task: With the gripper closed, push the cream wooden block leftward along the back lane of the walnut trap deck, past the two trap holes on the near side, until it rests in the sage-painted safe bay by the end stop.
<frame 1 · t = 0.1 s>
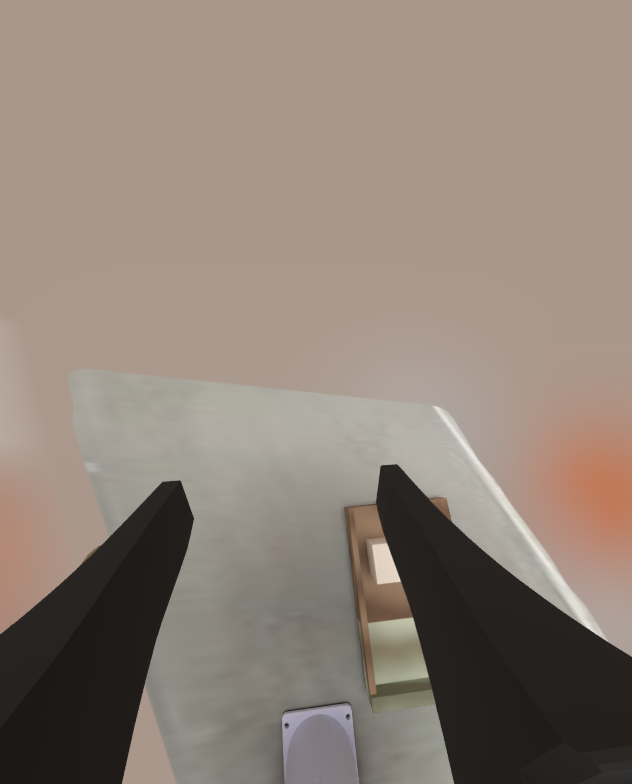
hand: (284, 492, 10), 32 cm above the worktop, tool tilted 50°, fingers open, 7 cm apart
cream block: (382, 554, 36), point 2 cm above the worktop, touching trap deck
trap deck: (406, 583, 37), on the worktop
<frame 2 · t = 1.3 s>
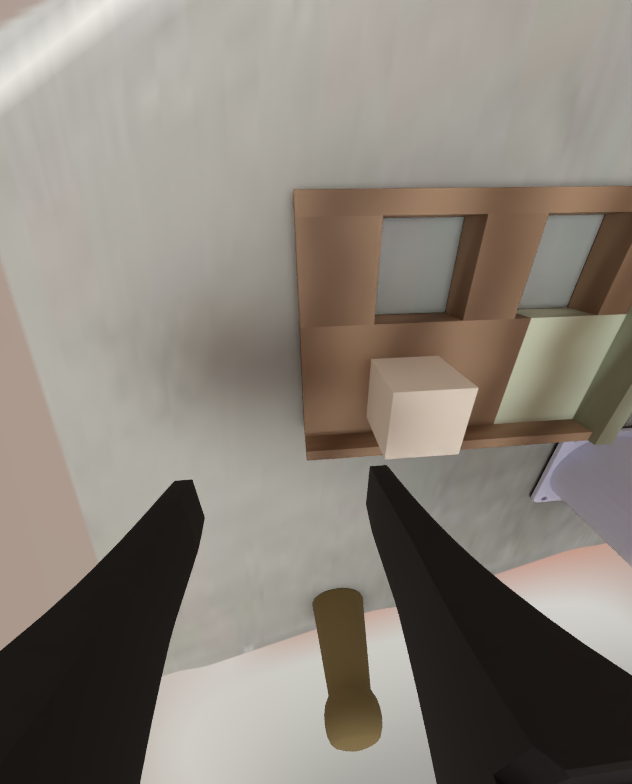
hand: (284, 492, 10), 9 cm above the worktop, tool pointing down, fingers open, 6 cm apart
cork: (337, 599, 34), on the worktop
cream block: (400, 387, 17), point 2 cm above the worktop, touching trap deck
trap deck: (457, 327, 18), on the worktop
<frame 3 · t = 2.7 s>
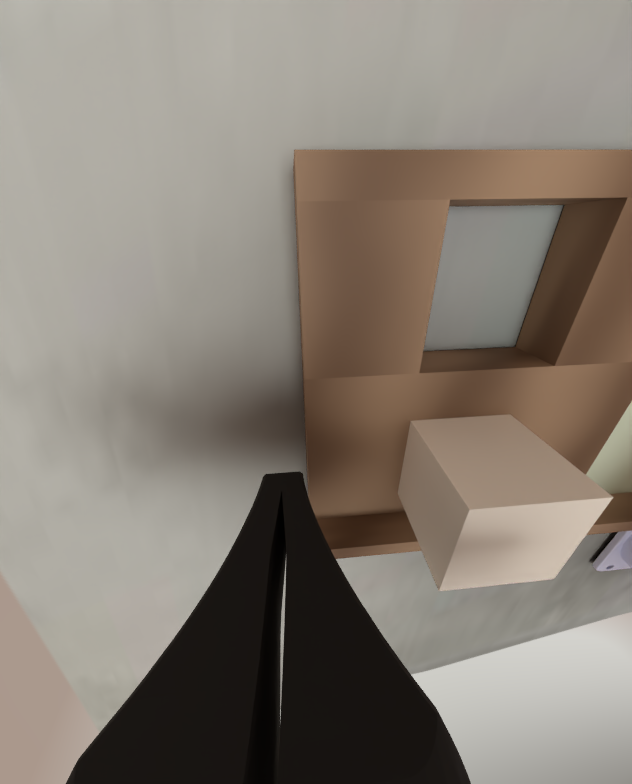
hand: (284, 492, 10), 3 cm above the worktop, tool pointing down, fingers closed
cream block: (449, 456, 12), point 2 cm above the worktop, touching trap deck
trap deck: (529, 367, 12), on the worktop
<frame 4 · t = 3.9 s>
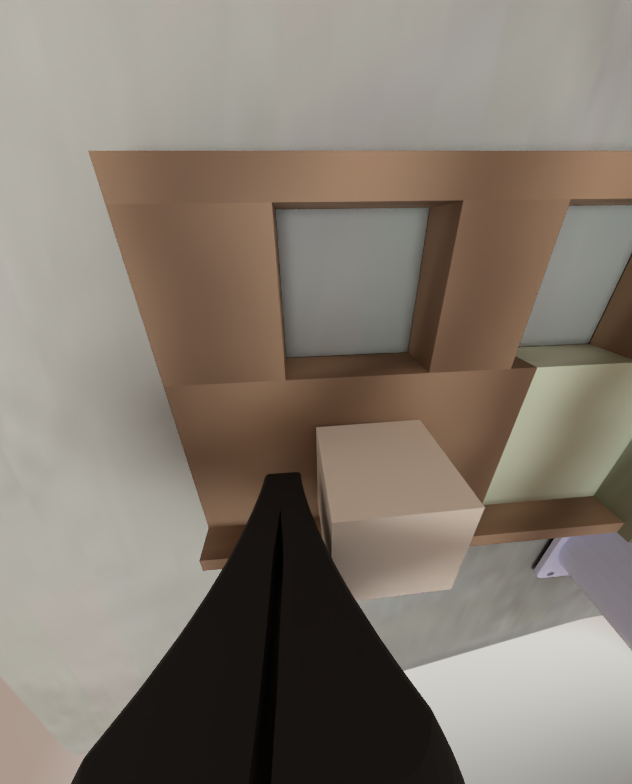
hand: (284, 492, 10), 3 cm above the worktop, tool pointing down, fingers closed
cream block: (365, 462, 12), point 2 cm above the worktop, touching gripper
trap deck: (427, 373, 12), on the worktop
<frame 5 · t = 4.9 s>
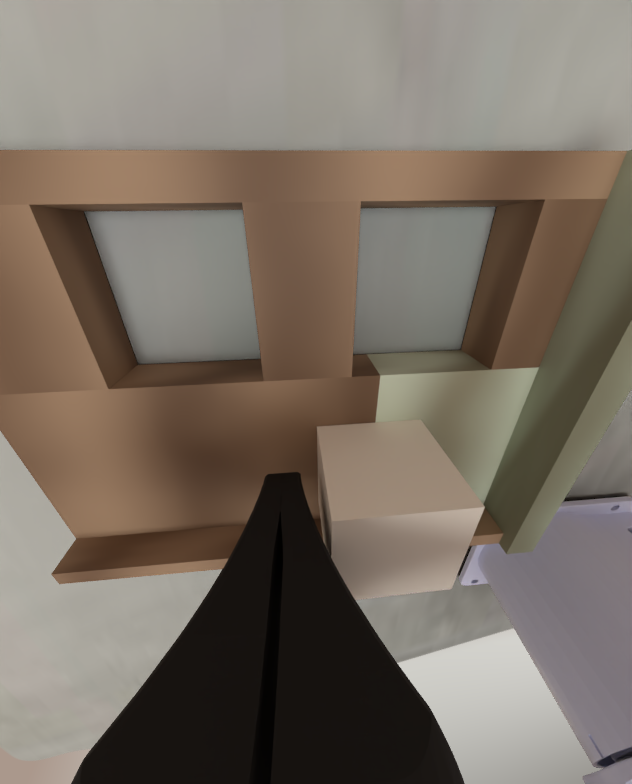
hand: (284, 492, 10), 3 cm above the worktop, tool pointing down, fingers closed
cream block: (365, 462, 12), point 2 cm above the worktop, touching gripper, trap deck
trap deck: (294, 379, 12), on the worktop
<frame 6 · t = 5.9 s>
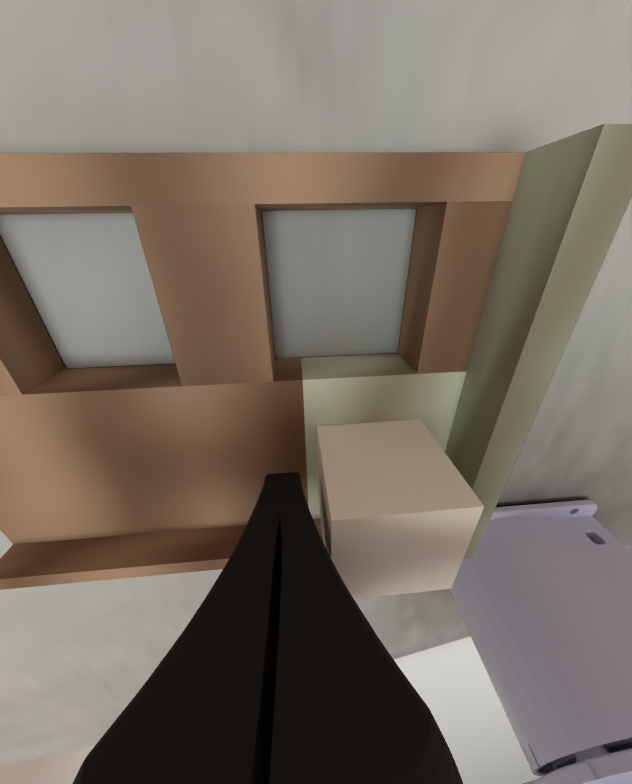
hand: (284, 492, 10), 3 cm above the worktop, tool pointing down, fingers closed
cream block: (365, 462, 12), point 2 cm above the worktop, touching gripper, trap deck
trap deck: (229, 383, 12), on the worktop
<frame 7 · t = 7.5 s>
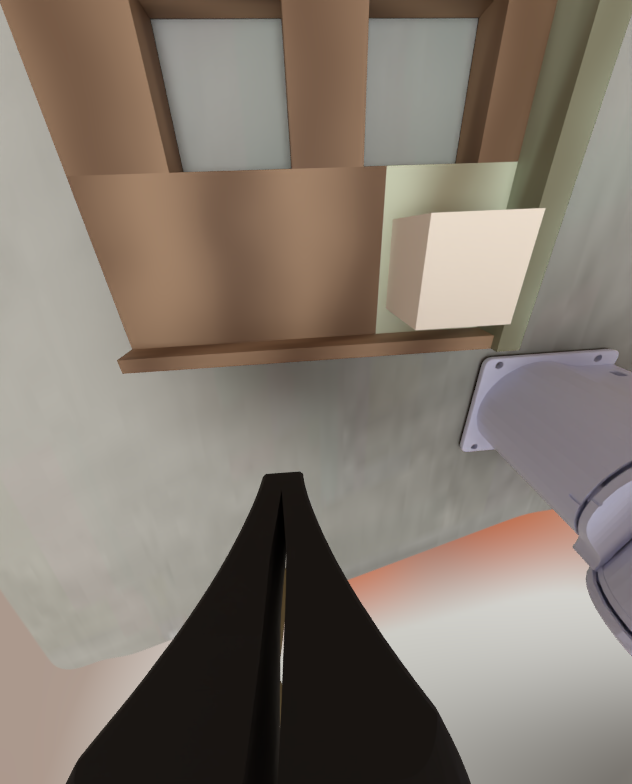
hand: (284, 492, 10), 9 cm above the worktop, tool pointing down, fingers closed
cream block: (428, 264, 14), point 2 cm above the worktop, touching trap deck
trap deck: (313, 202, 14), on the worktop
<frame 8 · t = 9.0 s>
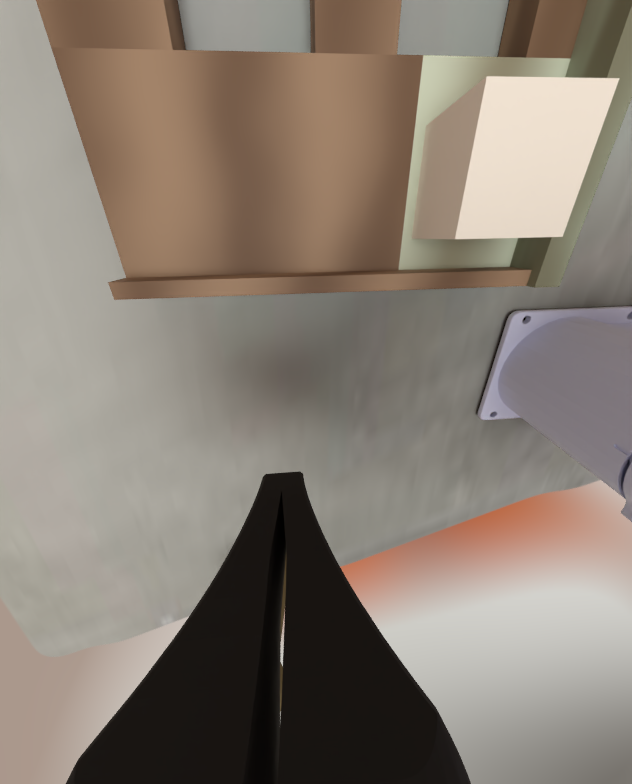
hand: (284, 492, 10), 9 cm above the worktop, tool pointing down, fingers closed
cream block: (461, 186, 12), point 2 cm above the worktop, touching trap deck
trap deck: (334, 112, 12), on the worktop
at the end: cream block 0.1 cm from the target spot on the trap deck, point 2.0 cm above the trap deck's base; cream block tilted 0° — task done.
